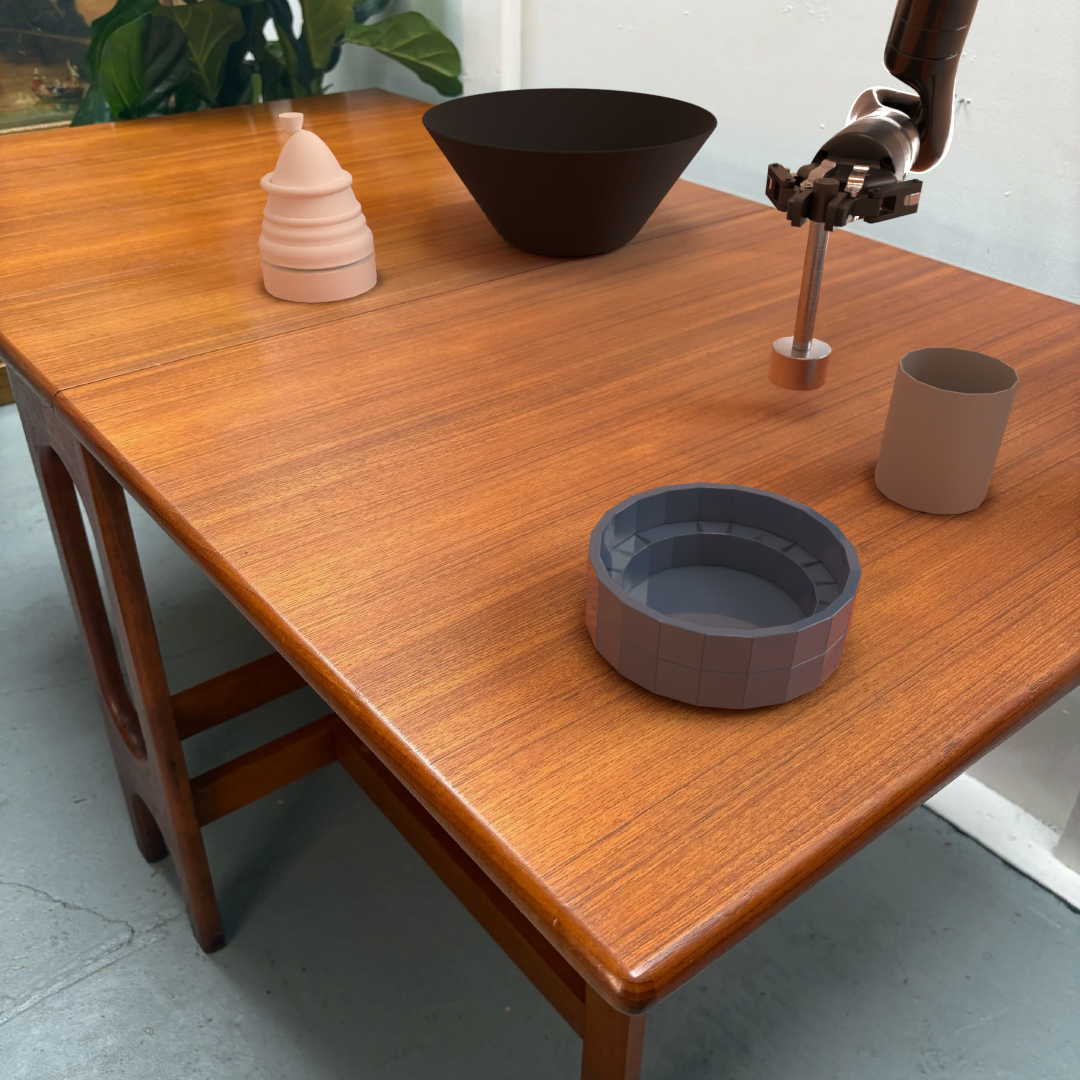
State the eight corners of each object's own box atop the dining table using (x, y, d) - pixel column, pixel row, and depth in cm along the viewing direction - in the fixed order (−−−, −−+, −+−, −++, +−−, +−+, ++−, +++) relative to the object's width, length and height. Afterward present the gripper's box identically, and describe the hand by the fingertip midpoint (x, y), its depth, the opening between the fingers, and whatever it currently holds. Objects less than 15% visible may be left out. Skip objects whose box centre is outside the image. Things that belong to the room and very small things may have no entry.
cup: (852, 482, 81) (876, 366, 75) (911, 450, 85) (938, 338, 80) (947, 526, 76) (981, 405, 70) (1005, 490, 80) (1041, 373, 74)
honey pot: (243, 282, 118) (215, 117, 108) (334, 256, 126) (316, 100, 115) (306, 311, 111) (283, 137, 100) (399, 282, 118) (387, 117, 108)
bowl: (738, 220, 139) (751, 102, 130) (650, 307, 112) (660, 166, 103) (505, 188, 151) (503, 79, 142) (375, 260, 124) (364, 131, 116)
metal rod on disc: (822, 368, 91) (854, 173, 82) (829, 392, 87) (863, 190, 78) (765, 366, 92) (791, 172, 82) (770, 390, 88) (797, 188, 78)
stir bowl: (826, 562, 72) (840, 489, 68) (862, 726, 58) (882, 646, 55) (594, 547, 73) (597, 475, 70) (577, 705, 60) (579, 625, 56)
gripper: (792, 114, 92) (732, 156, 80) (951, 129, 87) (914, 177, 74) (782, 199, 97) (723, 251, 84) (933, 218, 91) (895, 277, 79)
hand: (813, 216), depth 79 cm, fingers closed on metal rod on disc
